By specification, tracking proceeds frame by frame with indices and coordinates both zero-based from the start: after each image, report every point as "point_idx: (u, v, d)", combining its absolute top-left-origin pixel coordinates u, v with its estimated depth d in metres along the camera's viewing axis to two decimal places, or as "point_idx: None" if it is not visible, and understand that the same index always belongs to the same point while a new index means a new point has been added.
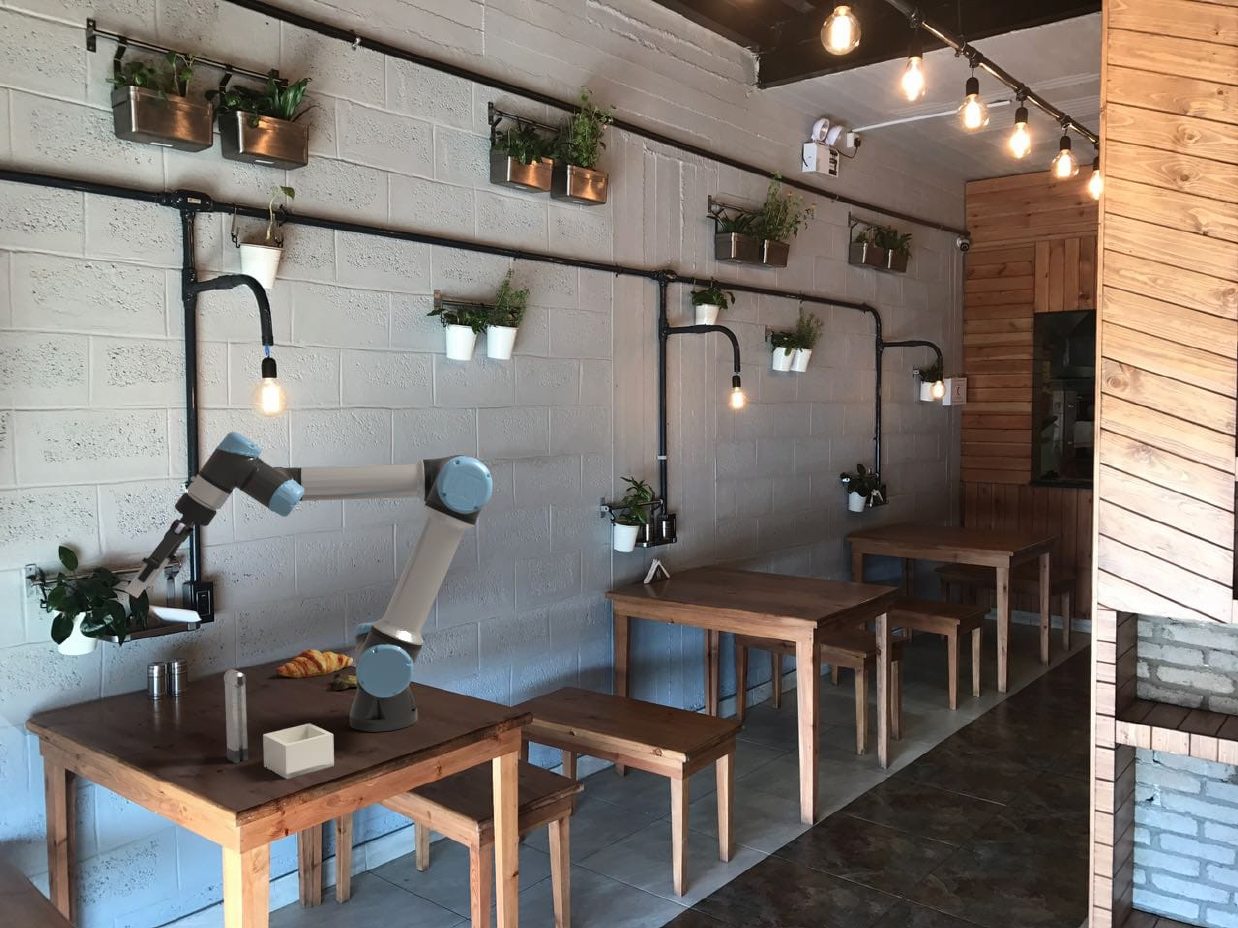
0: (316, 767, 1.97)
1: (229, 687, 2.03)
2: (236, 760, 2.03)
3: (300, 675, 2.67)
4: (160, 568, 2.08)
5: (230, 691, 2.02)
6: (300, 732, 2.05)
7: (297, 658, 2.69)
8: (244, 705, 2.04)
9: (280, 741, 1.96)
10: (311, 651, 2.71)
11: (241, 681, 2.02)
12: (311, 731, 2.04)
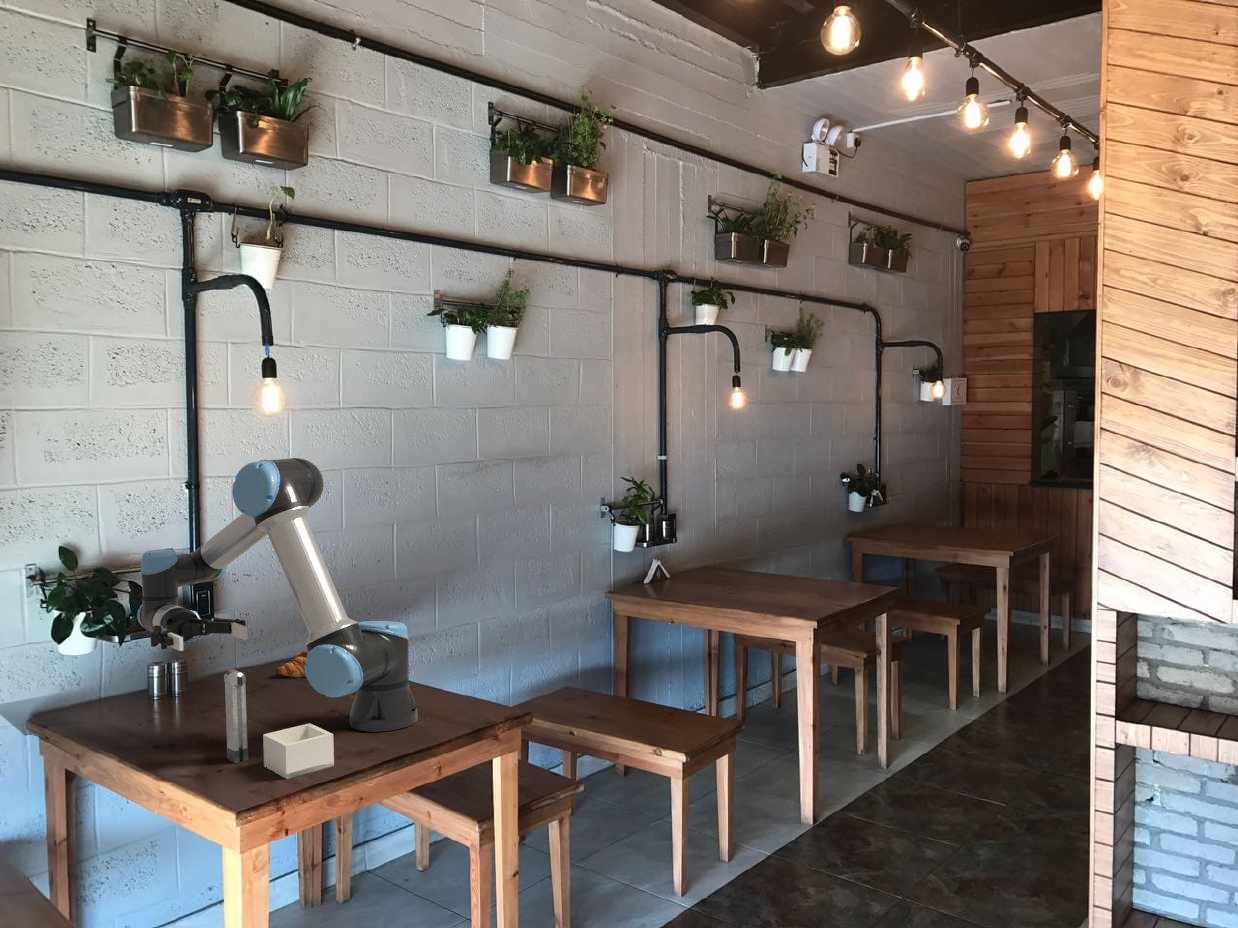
0: (316, 767, 1.97)
1: (229, 687, 2.03)
2: (236, 760, 2.03)
3: (300, 675, 2.67)
4: (236, 626, 2.18)
5: (230, 691, 2.02)
6: (300, 732, 2.05)
7: (297, 658, 2.70)
8: (244, 705, 2.04)
9: (280, 741, 1.96)
10: None
11: (241, 681, 2.02)
12: (311, 731, 2.04)
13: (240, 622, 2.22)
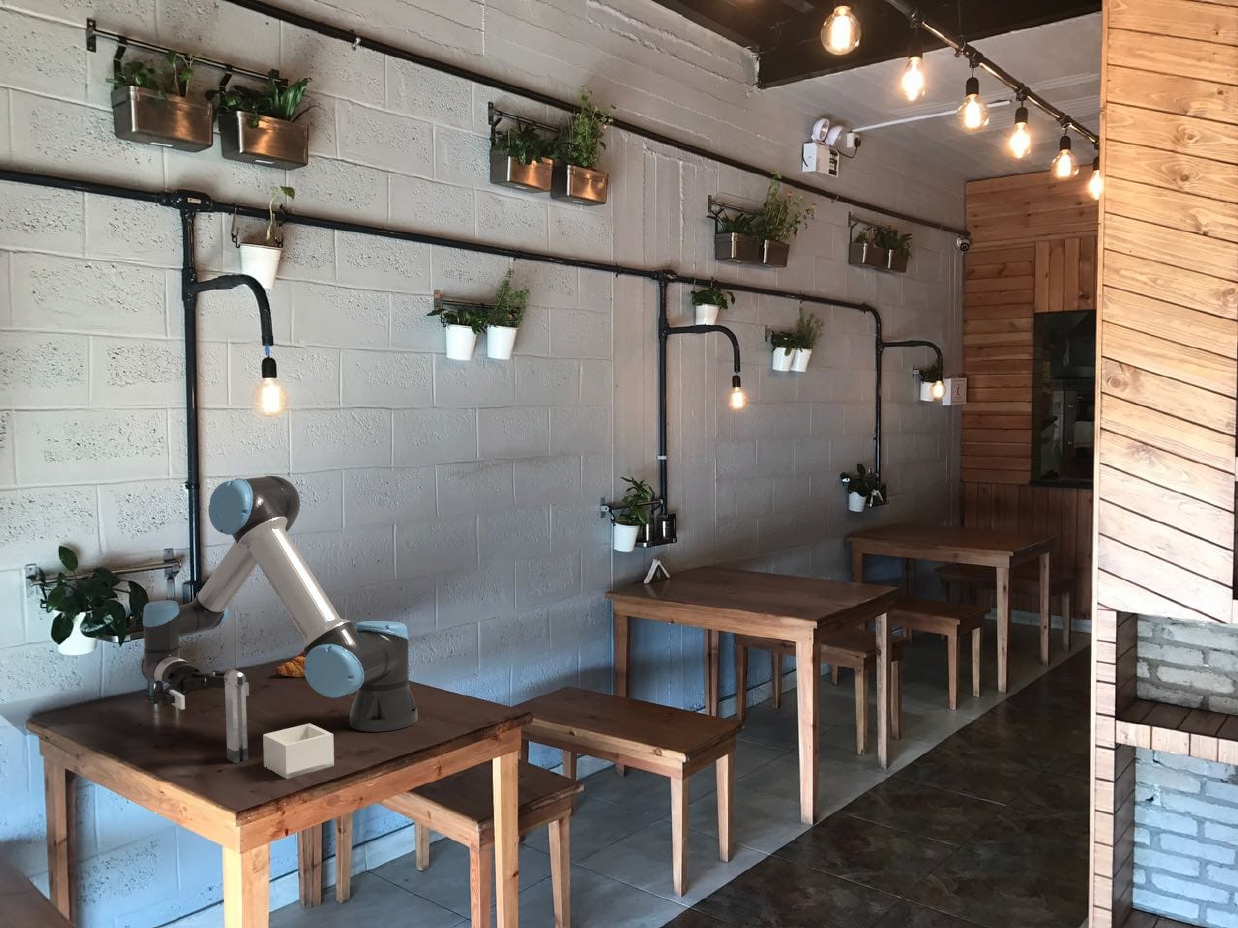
0: (316, 767, 1.97)
1: (229, 687, 2.03)
2: (236, 760, 2.03)
3: (299, 675, 2.67)
4: None
5: (230, 691, 2.02)
6: (300, 732, 2.05)
7: (297, 658, 2.70)
8: (244, 705, 2.04)
9: (280, 741, 1.96)
10: None
11: (241, 681, 2.02)
12: (311, 731, 2.04)
13: None
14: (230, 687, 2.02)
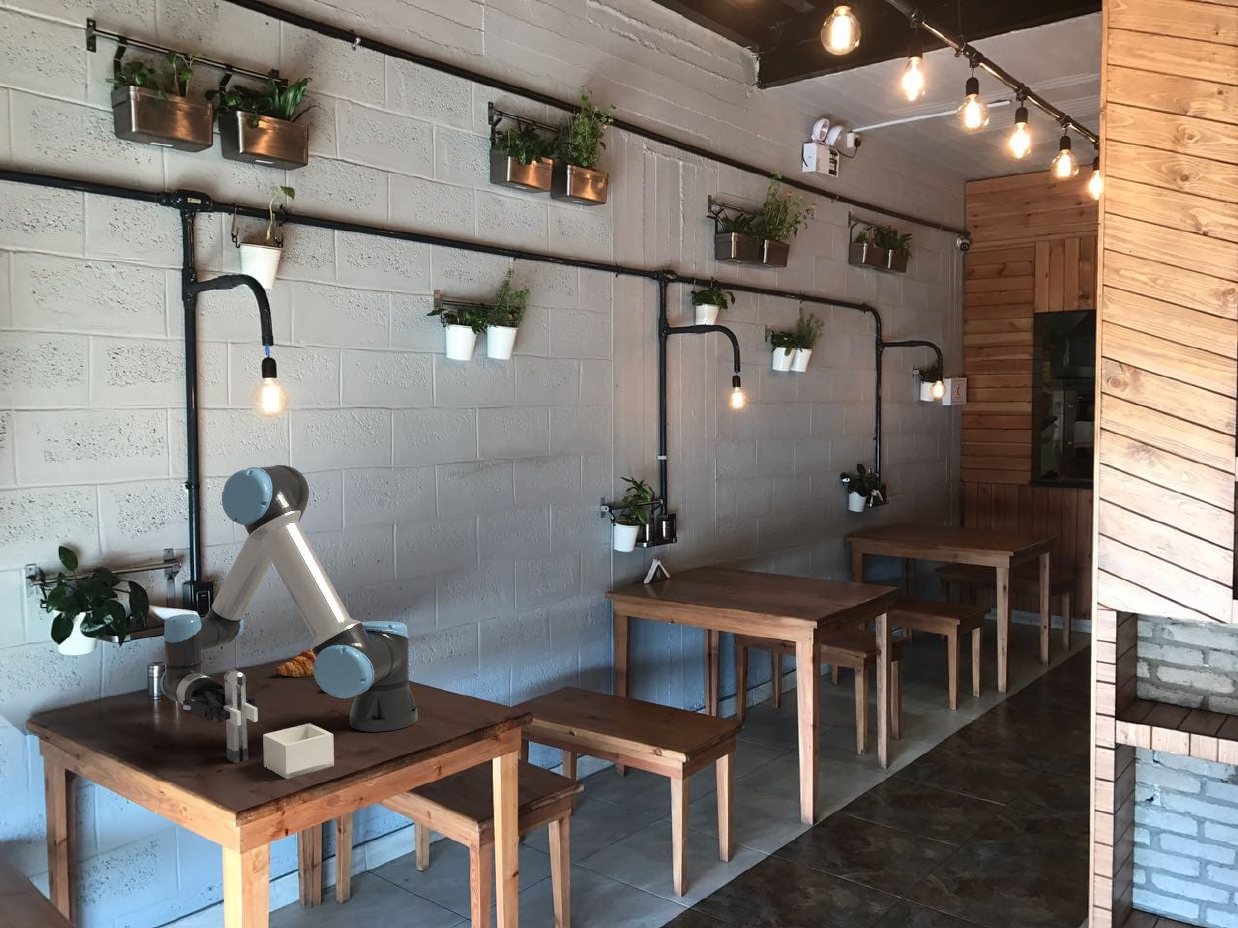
0: (316, 767, 1.97)
1: (229, 687, 2.03)
2: (236, 760, 2.03)
3: (299, 674, 2.68)
4: None
5: (230, 691, 2.02)
6: (300, 732, 2.05)
7: (297, 657, 2.70)
8: (244, 705, 2.04)
9: (280, 741, 1.96)
10: (311, 651, 2.71)
11: (241, 681, 2.02)
12: (311, 731, 2.04)
13: (249, 700, 2.09)
14: (230, 687, 2.02)
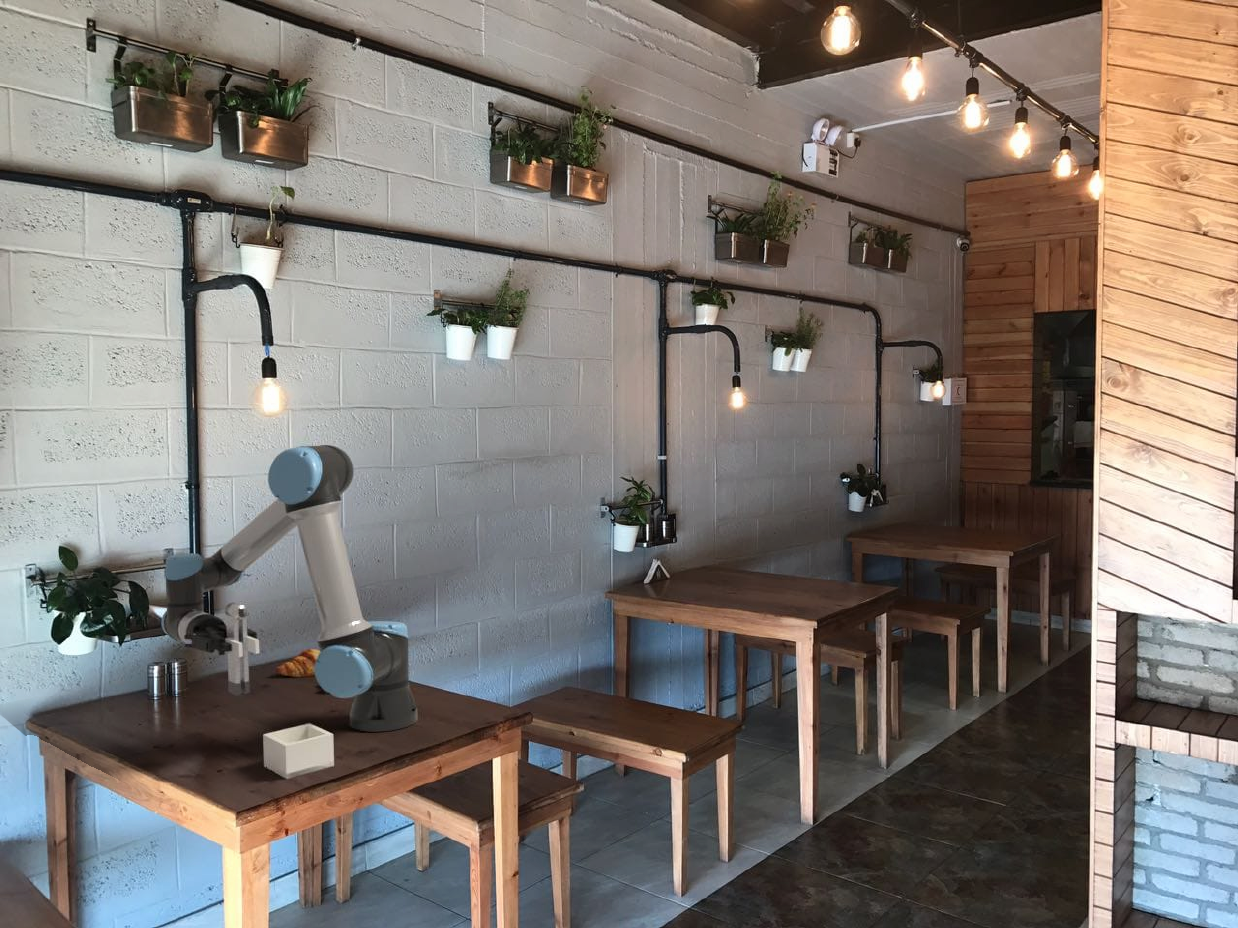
0: (316, 767, 1.97)
1: (230, 619, 2.02)
2: (238, 693, 2.02)
3: (299, 674, 2.68)
4: None
5: (231, 624, 2.01)
6: (300, 732, 2.05)
7: (297, 657, 2.70)
8: (245, 638, 2.02)
9: (280, 741, 1.96)
10: (311, 651, 2.71)
11: (242, 613, 2.01)
12: (311, 731, 2.04)
13: (250, 634, 2.08)
14: (231, 619, 2.01)
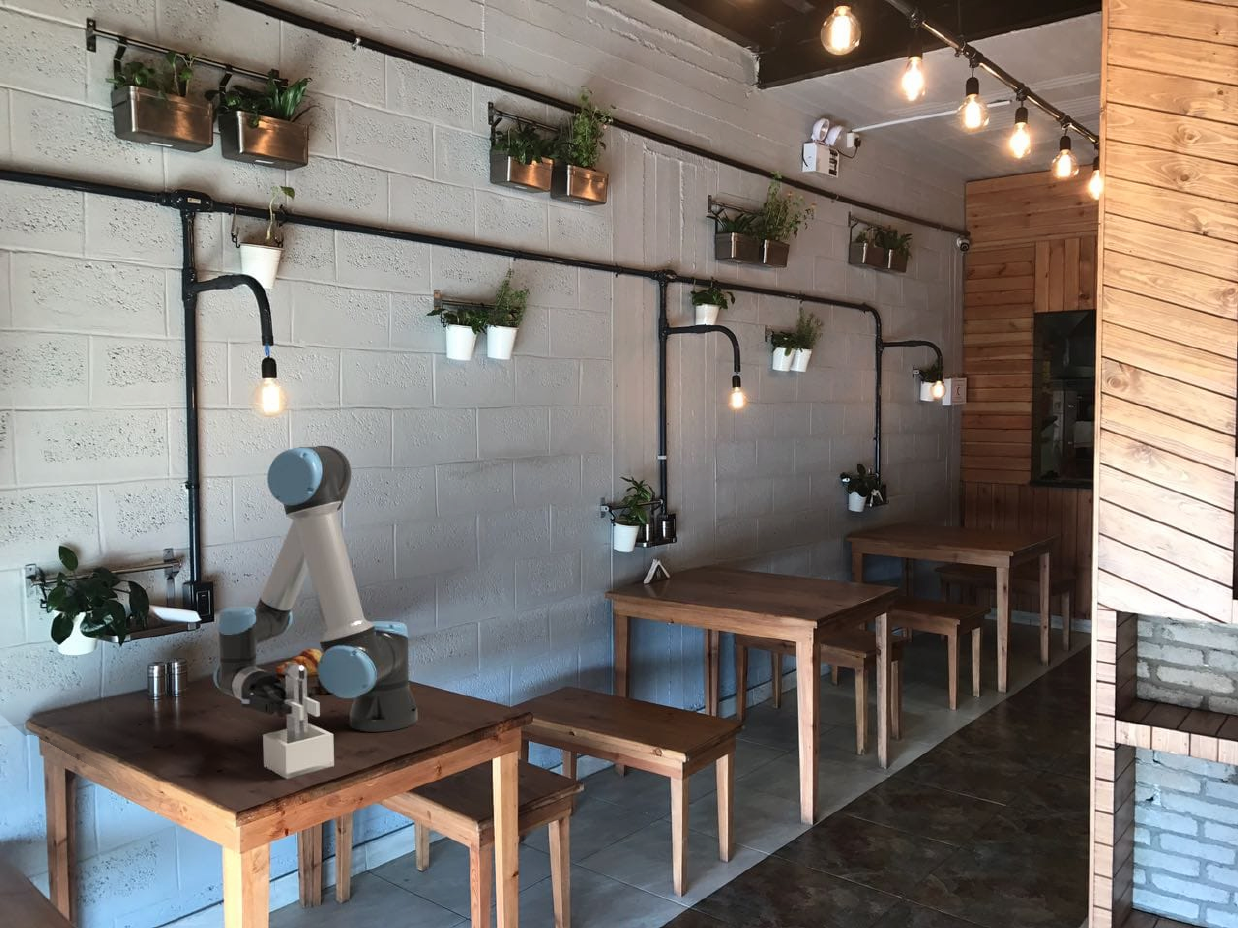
0: (316, 767, 1.97)
1: (290, 681, 1.98)
2: None
3: None
4: None
5: (291, 685, 1.98)
6: None
7: (297, 657, 2.70)
8: (305, 699, 1.99)
9: (280, 741, 1.96)
10: (311, 650, 2.72)
11: (303, 675, 1.97)
12: (311, 731, 2.04)
13: (308, 694, 2.04)
14: (291, 681, 1.98)
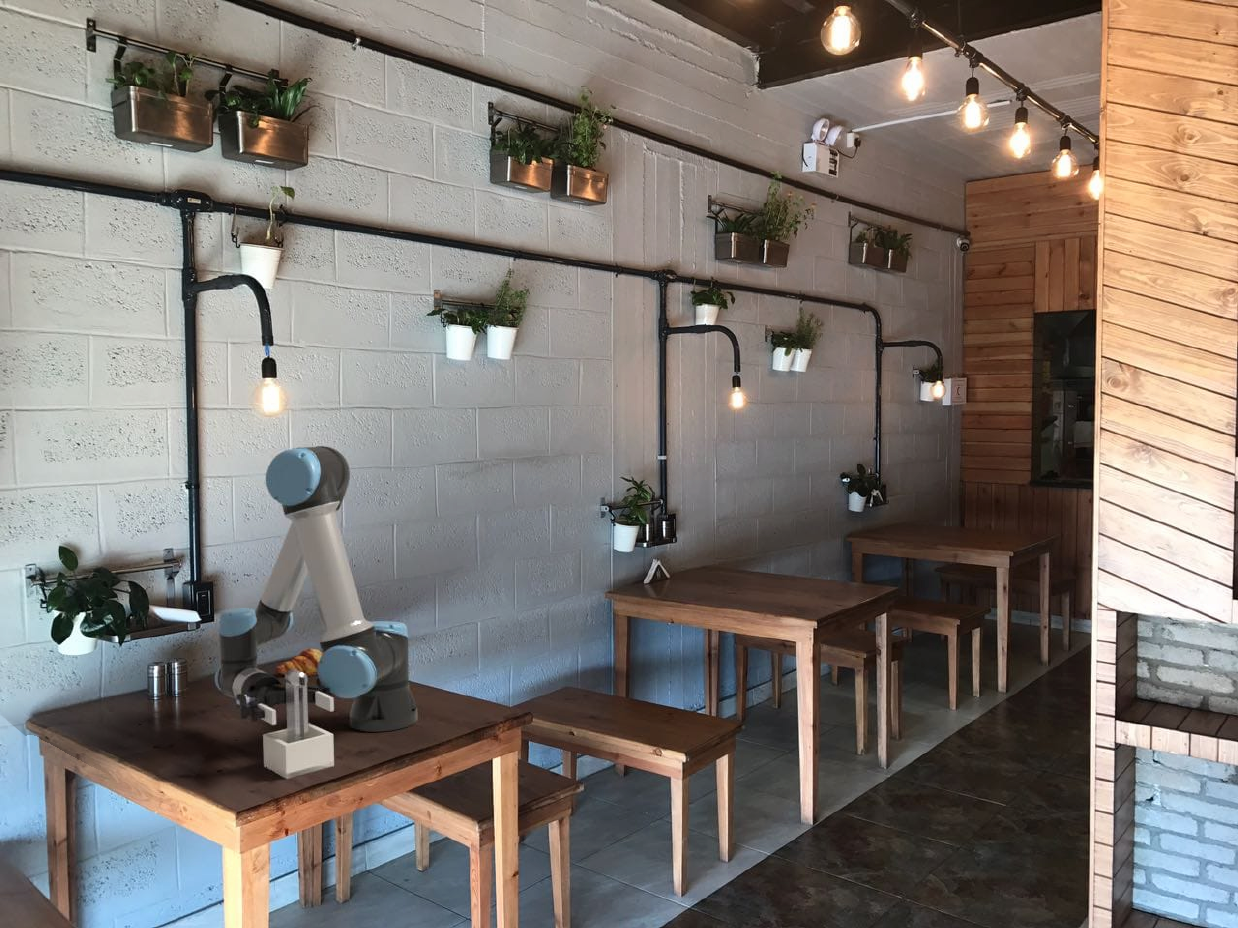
0: (316, 767, 1.97)
1: (291, 687, 1.98)
2: None
3: None
4: (320, 696, 2.03)
5: (292, 692, 1.98)
6: None
7: (297, 657, 2.70)
8: (306, 706, 1.99)
9: (280, 741, 1.96)
10: (311, 650, 2.72)
11: (303, 681, 1.97)
12: (311, 731, 2.04)
13: (323, 690, 2.07)
14: (292, 687, 1.98)
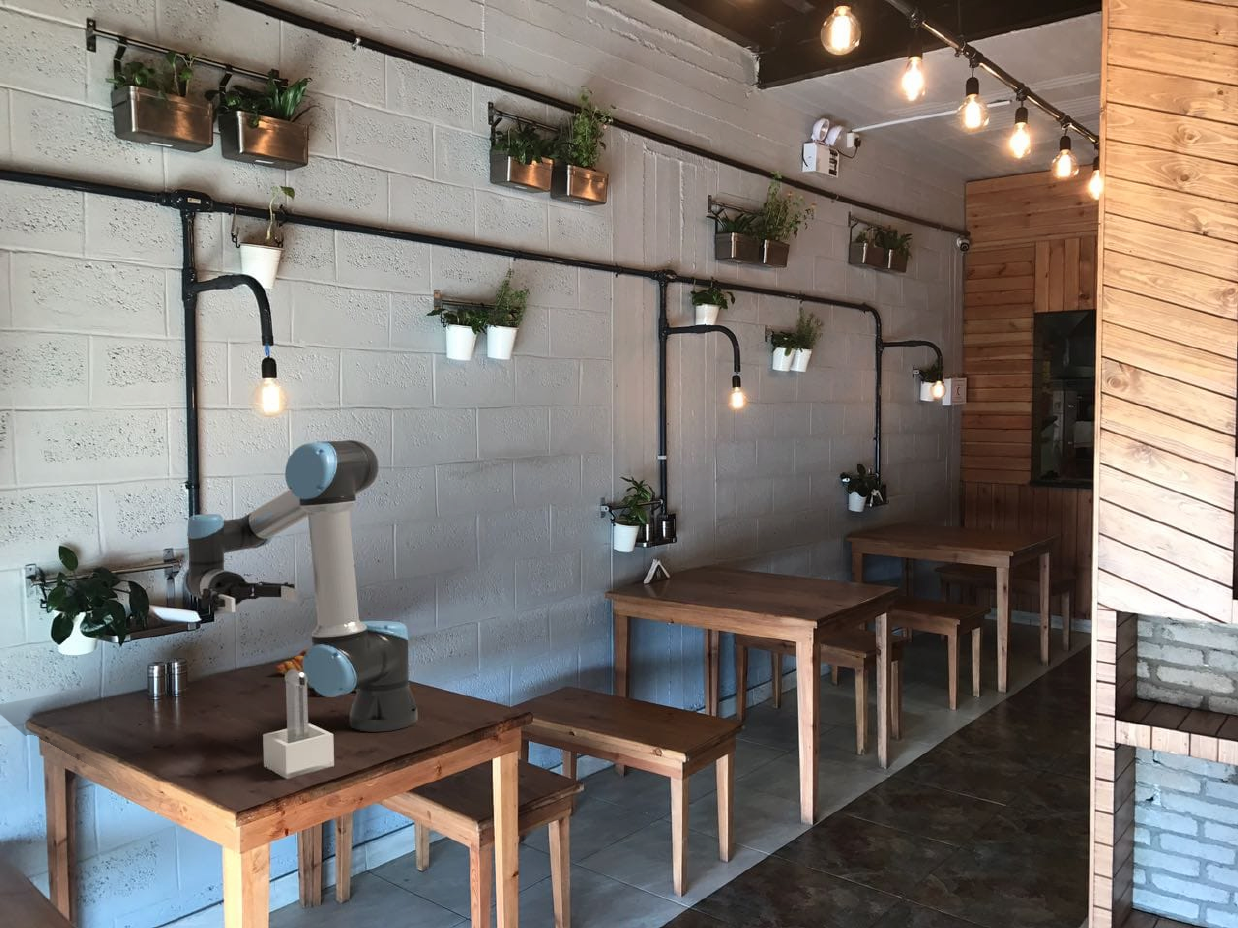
0: (316, 767, 1.97)
1: (291, 687, 1.98)
2: None
3: None
4: (286, 589, 2.15)
5: (292, 692, 1.98)
6: None
7: (296, 657, 2.71)
8: (306, 706, 1.99)
9: (280, 741, 1.96)
10: None
11: (303, 681, 1.97)
12: (311, 731, 2.04)
13: (289, 586, 2.19)
14: (292, 687, 1.98)
